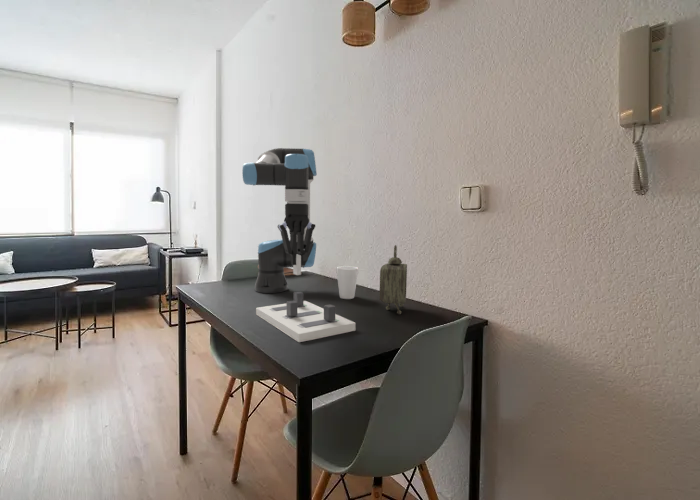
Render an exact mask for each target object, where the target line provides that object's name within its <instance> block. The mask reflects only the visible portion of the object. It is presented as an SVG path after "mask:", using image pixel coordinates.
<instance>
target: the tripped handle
mask: <svg viewBox="0 0 700 500" xmlns="http://www.w3.org/2000/svg"><path fill="white" fill-rule="evenodd" d="M286 303H287V315H288V316H290V317H292V316H297V302H295V301H294V300H287V301H286Z"/></svg>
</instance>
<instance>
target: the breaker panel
mask: <svg viewBox="0 0 700 500" xmlns="http://www.w3.org/2000/svg"><path fill="white" fill-rule="evenodd" d="M255 314H256V316H258V317H259V318H261V319H262V320H264V321H265V322H267V323H268V324H270V325H271V326H273V327H274V328H277V329H278V330H279V331H281V332H283V334H285V335H286V336H288V337H290V338H291V339H293V340H295V341H296V342H297V343H301V342H306V341H312V340H317V339H322V338H326V337H332V336H336V335H341V334H345V333H346V334H347V333H350V332H355V331H356V322H354V321H353V320H351V319H349V318H346V317H344V316H341V315H340V314H336V313H335V320H333V321H327V320H325V319H324V307H321V306H318V305H316V304H314V303H312V302H309V301H307V300H303V305H302V306H297V316H292V317H290V316H288V315H287V302H286V303H280V304H272V305H266V306H265V305H264V306H260V307H256V308H255Z"/></svg>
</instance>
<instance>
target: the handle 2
mask: <svg viewBox="0 0 700 500" xmlns="http://www.w3.org/2000/svg"><path fill="white" fill-rule="evenodd" d="M323 309H324V319H325V320H327V321H333V320H335V314H336V305H334V304H325V305H323Z"/></svg>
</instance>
